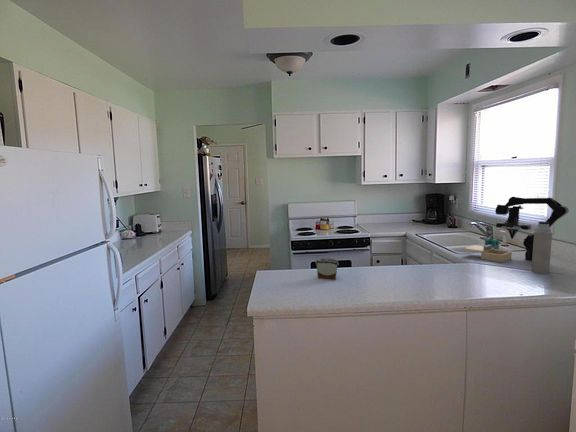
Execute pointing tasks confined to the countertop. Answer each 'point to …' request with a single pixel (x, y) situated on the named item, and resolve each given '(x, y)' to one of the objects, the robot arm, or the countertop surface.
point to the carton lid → (480, 248)
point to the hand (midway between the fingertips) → (512, 238)
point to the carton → (496, 255)
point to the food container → (326, 268)
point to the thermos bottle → (542, 248)
